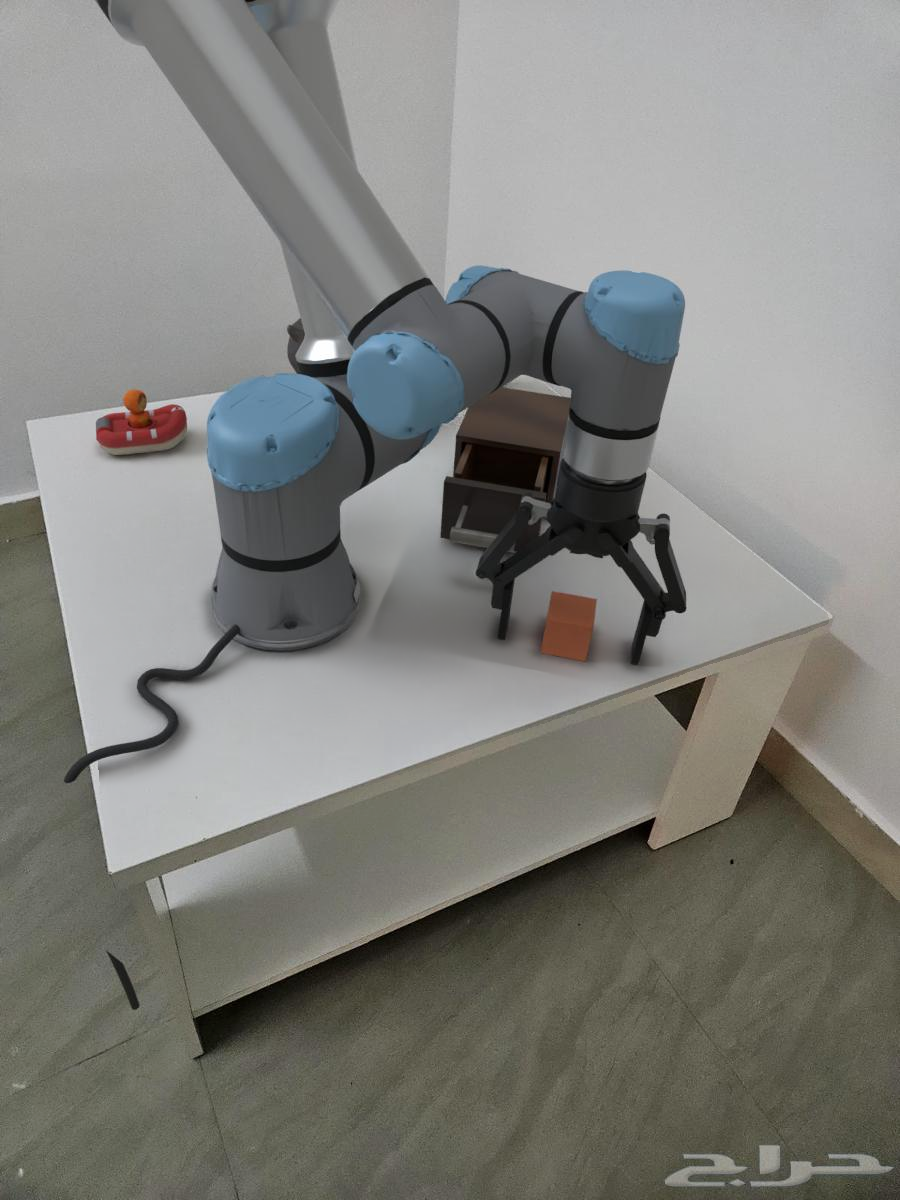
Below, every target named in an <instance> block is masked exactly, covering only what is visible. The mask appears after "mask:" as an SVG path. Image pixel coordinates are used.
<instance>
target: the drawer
mask: <svg viewBox="0 0 900 1200" xmlns="http://www.w3.org/2000/svg"><path fill="white" fill-rule="evenodd" d="M549 462H550V456H548V455H542V454H535V453H529V452H523V451H517V450H511V449H505V448H498V447H492V446H486V445H480V444H474V443H468V442H467V444H466V446H465V449H464V451H463V454H462V456H461V459H460V461H459V463H458V466H457V468H456V471H455V474H454V477H453V476H447V475H446V476H445V478H444V480H443V490H442V503H441V504H442V506H441V520H440V532H439V533H440V534H439V539H443V540H448V541H449V542H452V543H457V544H463V545H469V546H474V547H481V548H486V549H487V548H488V547H489V546H490V545H491V544H492V542H493V541H494V540H495V539H496V537H497V536H498V535H499V534H500V532H501V531H502V530H503V529H504V527H505V526H506V525H507V524H508V522H509V521H510V520H511V519H512V517H513V516H514V515H515V514H516V512H517V511H518V509H519V506H520V502H521V498H522V495H523V494H524V493H525V492H531V493H533V494H534V496H535V500H539V501H543V502H545V499H546V493H545V487H546V481H547V474H548V468H549ZM543 519H544V518H543V517H541V518H539V519H538V521H537V522H536V523H534V524H532V525H530V524H528V525H527V528H526V530H525V531H524V533H523V534H522V535H521V537H520V538H519V539H518V540H517V541H516V543H515V544H514V545H513V546H512V547H511V549H510V550H509V551H508V552H509V553H516V552H517V551H519V550H520V549H521V548H523V547H524V546H526V545H527V544H529V543H530V542H531V541H533V540H534V539H536V538H537V537H539V536H540V535H541V530H542V523H543ZM508 552H507V553H508Z"/></svg>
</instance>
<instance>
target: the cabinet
mask: <svg viewBox="0 0 900 1200" xmlns="http://www.w3.org/2000/svg"><path fill="white" fill-rule="evenodd" d="M570 401H571V397H568V396H561V395H555V394H549V393H544V392H543V393H541V392H537V391H530V390H522V389H515V388H509V387H504V386H503V387H501V388H499V389H498V390H496V391H494V392H493V393H491V394H489V395H487V396H485V397H484V398H482V399H480V400H479V401H477V402H476V403H474V404H473V405H471V406H469V407H468V408H466V412H465V414H464V416H463V418H462V420H461V423H460V426H459V428H458V429H457V432H456V434H455V445H454V459H453V470H452V471H453V473H452V477H454V474H455V471H456V468H457V466H458V463H459V461H460V459H461V456H462V454H463V451H464V449H465V446H466V444H467V442H468V443H474V444H480V445H486V446H492V447H498V448H505V449H511V450H517V451H523V452H529V453H535V454H542V455H548V456H550V462H549V468H548V474H547V481H546V487H545V493H546V499H545V502H546V503H551V502H552V501H553V500H554V498H555V494H556V488H557V482H558V476H559V470H560V463H561V460H562V459H563V455H562V451H563V444H564V438H565V432H566V425H567V419H568V413H569V408H570ZM542 519H546V520H547V517H543V518H542Z"/></svg>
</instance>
